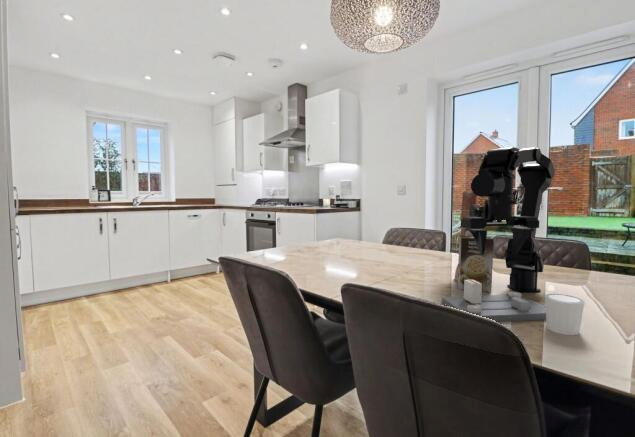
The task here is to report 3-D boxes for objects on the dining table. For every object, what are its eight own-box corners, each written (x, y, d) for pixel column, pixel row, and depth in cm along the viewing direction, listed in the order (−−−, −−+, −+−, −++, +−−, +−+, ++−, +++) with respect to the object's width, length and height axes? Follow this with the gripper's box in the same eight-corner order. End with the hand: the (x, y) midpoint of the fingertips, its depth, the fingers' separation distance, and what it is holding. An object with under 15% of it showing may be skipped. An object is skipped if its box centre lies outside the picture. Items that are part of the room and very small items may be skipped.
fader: (472, 298, 87) (473, 278, 87) (481, 303, 83) (481, 283, 83) (463, 298, 87) (464, 279, 87) (472, 303, 83) (472, 283, 83)
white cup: (535, 324, 74) (537, 293, 74) (564, 322, 75) (565, 292, 75) (560, 337, 68) (562, 303, 67) (591, 335, 68) (593, 302, 68)
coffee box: (458, 289, 101) (460, 237, 100) (457, 284, 107) (458, 235, 106) (492, 292, 98) (494, 238, 97) (488, 286, 104) (490, 236, 103)
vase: (477, 284, 106) (479, 191, 104) (452, 281, 110) (454, 191, 108) (479, 277, 116) (481, 191, 113) (456, 274, 119) (458, 191, 117)
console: (518, 299, 91) (519, 287, 91) (559, 318, 77) (560, 304, 77) (441, 302, 89) (441, 289, 89) (469, 322, 76) (469, 307, 75)
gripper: (513, 195, 96) (511, 248, 97) (451, 196, 95) (450, 250, 96) (542, 196, 85) (539, 255, 86) (472, 196, 84) (471, 257, 85)
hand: (498, 254), depth 89 cm, fingers open, 9 cm apart
